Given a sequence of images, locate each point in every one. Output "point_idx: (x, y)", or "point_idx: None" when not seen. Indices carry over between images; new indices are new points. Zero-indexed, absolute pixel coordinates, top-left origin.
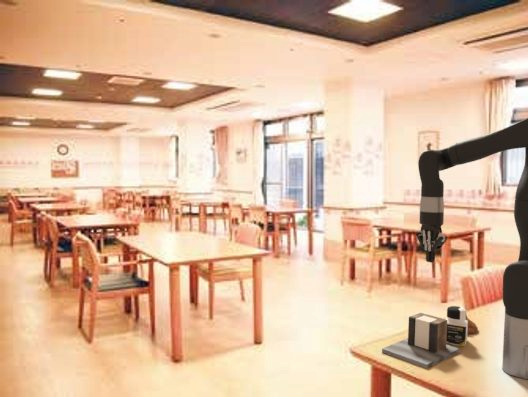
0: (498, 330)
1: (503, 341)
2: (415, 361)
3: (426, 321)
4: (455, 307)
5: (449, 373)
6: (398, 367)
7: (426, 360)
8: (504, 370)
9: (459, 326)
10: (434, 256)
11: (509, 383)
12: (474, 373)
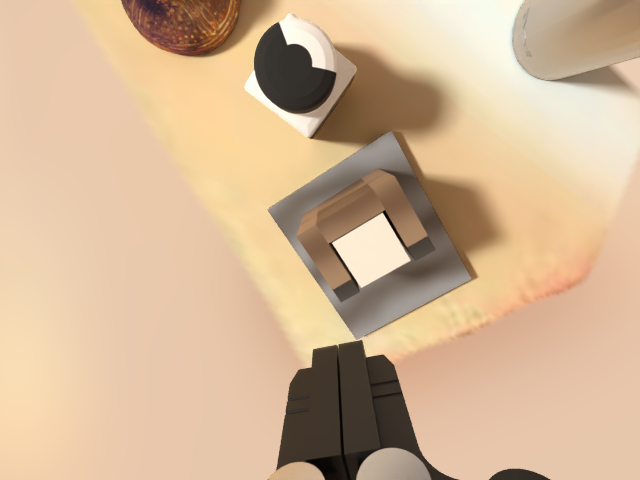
0: None
1: (589, 48)
2: (441, 293)
3: (399, 265)
4: (292, 68)
5: (505, 236)
6: (445, 332)
7: (448, 268)
8: (547, 79)
9: (343, 90)
10: (404, 400)
11: (602, 115)
12: (524, 172)
